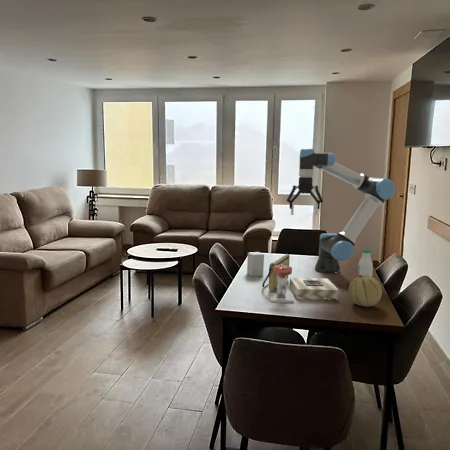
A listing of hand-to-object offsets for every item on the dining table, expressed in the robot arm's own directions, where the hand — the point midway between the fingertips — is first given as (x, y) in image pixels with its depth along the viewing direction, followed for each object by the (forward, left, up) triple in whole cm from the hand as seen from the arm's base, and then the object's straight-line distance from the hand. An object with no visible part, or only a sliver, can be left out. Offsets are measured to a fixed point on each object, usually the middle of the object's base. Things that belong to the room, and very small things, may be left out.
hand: (304, 214), depth 243 cm
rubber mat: (+18, +39, -36) cm, 56 cm away
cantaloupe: (-20, +47, -36) cm, 63 cm away
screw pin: (+17, +39, -35) cm, 56 cm away
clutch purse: (+17, +16, -37) cm, 43 cm away
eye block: (0, +29, -36) cm, 47 cm away
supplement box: (+26, -4, -36) cm, 45 cm away
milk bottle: (-32, +13, -36) cm, 50 cm away
